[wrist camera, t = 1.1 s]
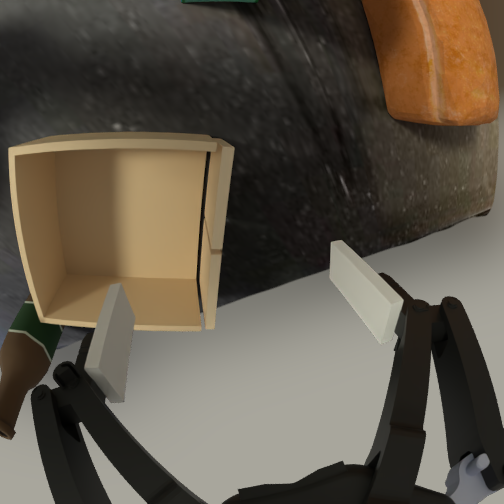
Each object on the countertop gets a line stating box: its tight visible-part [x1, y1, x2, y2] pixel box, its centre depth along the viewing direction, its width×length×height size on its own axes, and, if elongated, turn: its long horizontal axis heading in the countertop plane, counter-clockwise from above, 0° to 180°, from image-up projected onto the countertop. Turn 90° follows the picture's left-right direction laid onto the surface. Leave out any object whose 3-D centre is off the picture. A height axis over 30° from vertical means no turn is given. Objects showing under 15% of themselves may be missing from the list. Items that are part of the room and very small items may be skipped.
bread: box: [361, 0, 499, 126], centre depth 21 cm, size 14×26×16 cm, turn 13°
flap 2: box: [200, 219, 222, 329], centre depth 33 cm, size 1×9×10 cm, turn 172°
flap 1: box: [205, 138, 235, 249], centre depth 28 cm, size 1×9×10 cm, turn 171°
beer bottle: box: [0, 293, 65, 440], centre depth 25 cm, size 8×8×24 cm
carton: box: [9, 132, 217, 331], centre depth 28 cm, size 20×20×10 cm
